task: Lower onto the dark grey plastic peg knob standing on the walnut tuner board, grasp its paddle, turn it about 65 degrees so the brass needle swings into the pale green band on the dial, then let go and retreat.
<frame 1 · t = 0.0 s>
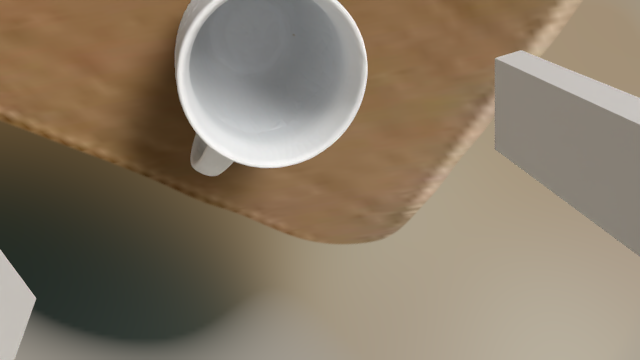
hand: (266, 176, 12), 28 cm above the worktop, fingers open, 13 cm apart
mug: (240, 43, 38), on the worktop
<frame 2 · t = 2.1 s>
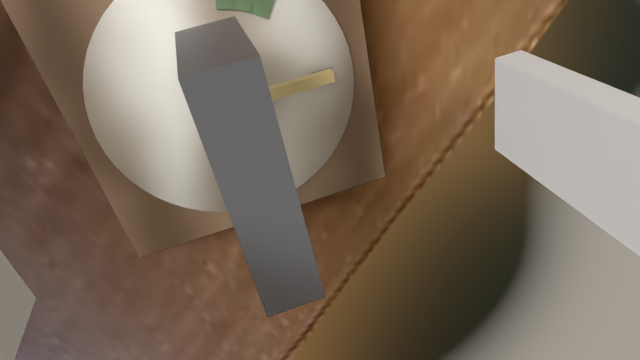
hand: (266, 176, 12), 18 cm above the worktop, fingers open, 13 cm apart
tuner board: (205, 26, 27), on the worktop
peg knob: (291, 127, 21), point 10 cm above the worktop, hinge at 0.0°
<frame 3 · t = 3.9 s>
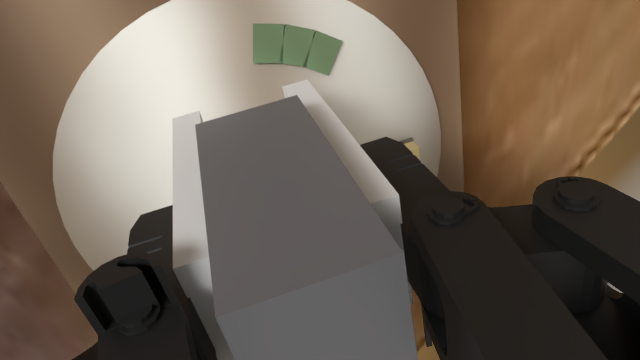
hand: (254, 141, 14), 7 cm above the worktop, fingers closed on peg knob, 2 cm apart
tuner board: (231, 76, 19), on the worktop
peg knob: (375, 258, 13), point 10 cm above the worktop, hinge at 0.0°, touching gripper
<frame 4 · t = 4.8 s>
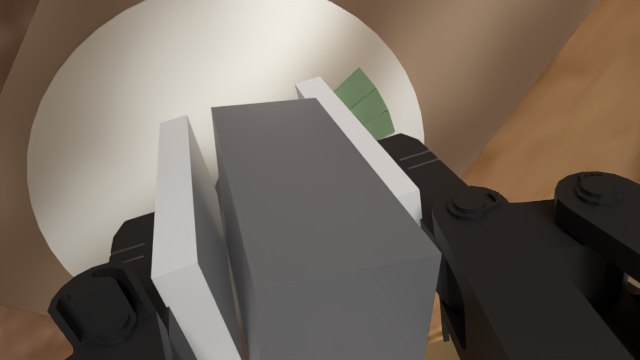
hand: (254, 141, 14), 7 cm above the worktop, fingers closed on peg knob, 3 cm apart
tuner board: (269, 82, 20), on the worktop
peg knob: (356, 273, 13), point 10 cm above the worktop, hinge at 34.0°, touching gripper
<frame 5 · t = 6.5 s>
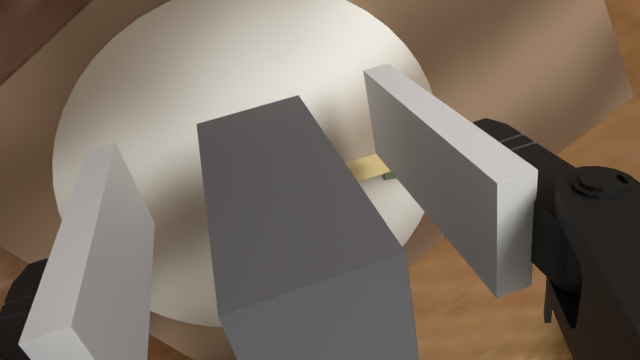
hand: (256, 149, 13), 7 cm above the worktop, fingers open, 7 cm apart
tuner board: (303, 96, 21), on the worktop
peg knob: (375, 259, 13), point 10 cm above the worktop, hinge at 64.5°
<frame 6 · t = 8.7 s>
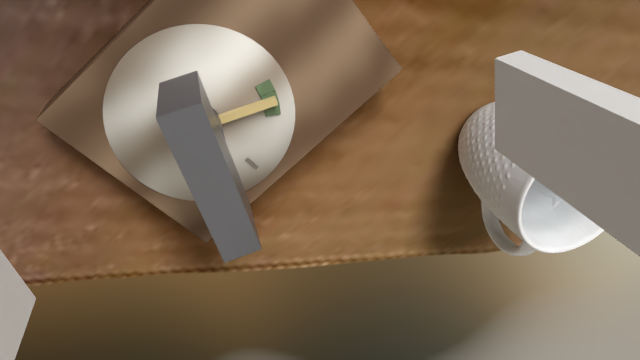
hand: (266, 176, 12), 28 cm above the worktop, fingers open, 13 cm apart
mug: (484, 142, 49), on the worktop
tuner board: (227, 77, 39), on the worktop
peg knob: (240, 139, 31), point 10 cm above the worktop, hinge at 65.0°
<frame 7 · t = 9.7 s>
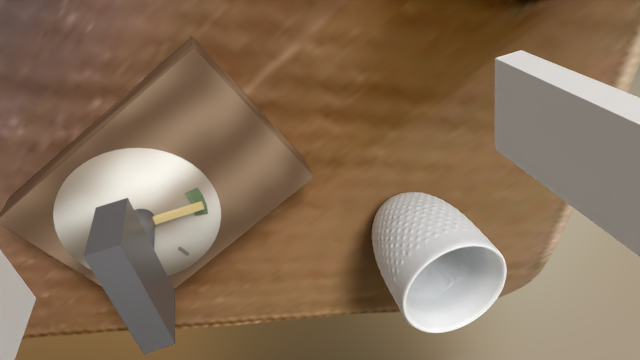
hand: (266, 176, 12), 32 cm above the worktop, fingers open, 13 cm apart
mug: (398, 223, 56), on the worktop
tuner board: (166, 176, 46), on the worktop
peg knob: (164, 248, 38), point 10 cm above the worktop, hinge at 65.0°
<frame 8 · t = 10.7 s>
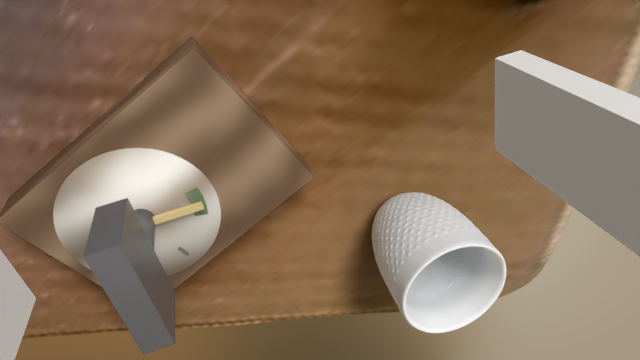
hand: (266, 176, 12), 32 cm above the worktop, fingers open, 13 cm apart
mug: (397, 223, 56), on the worktop
tuner board: (166, 176, 46), on the worktop
peg knob: (164, 248, 38), point 10 cm above the worktop, hinge at 65.0°
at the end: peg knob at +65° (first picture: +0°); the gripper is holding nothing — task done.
